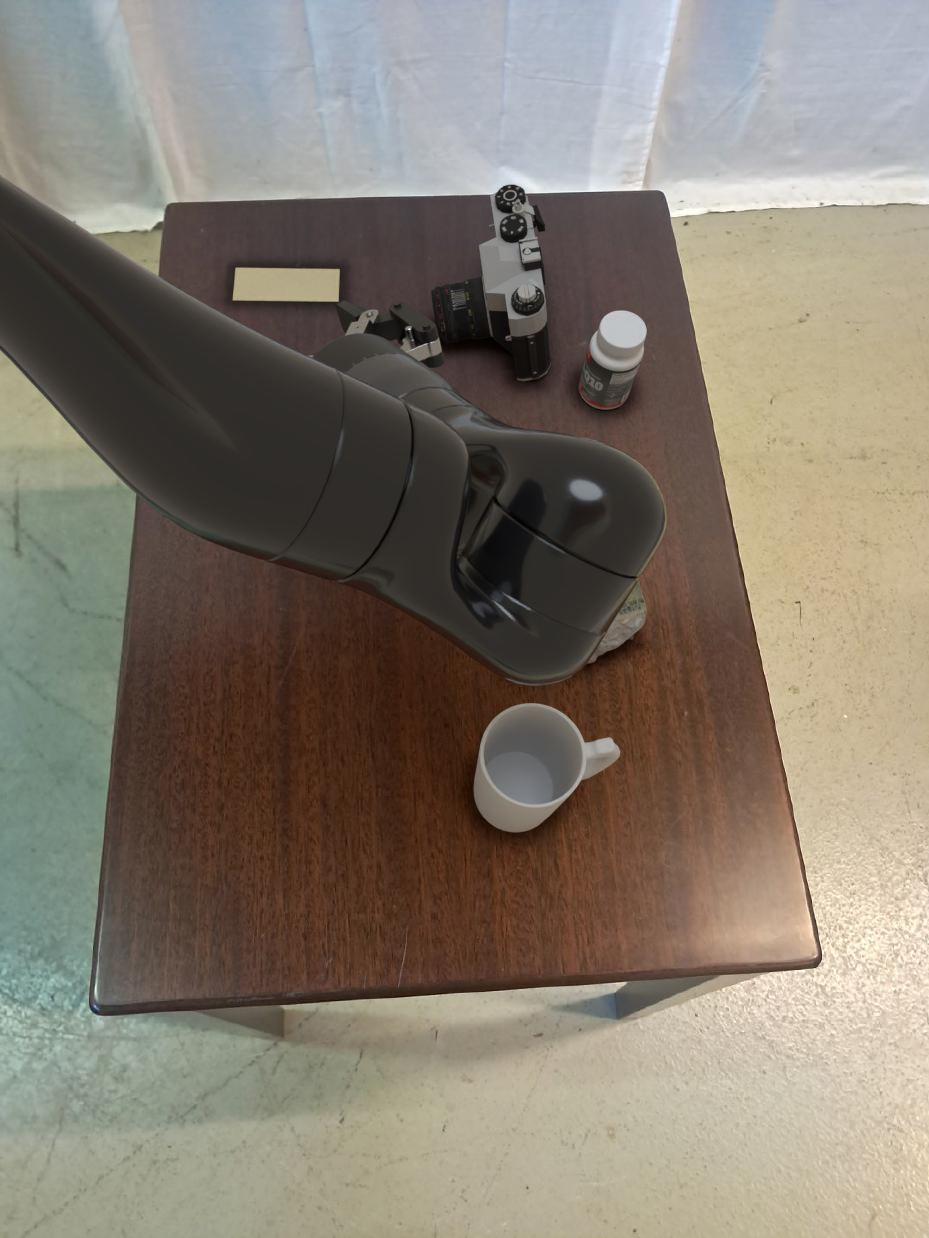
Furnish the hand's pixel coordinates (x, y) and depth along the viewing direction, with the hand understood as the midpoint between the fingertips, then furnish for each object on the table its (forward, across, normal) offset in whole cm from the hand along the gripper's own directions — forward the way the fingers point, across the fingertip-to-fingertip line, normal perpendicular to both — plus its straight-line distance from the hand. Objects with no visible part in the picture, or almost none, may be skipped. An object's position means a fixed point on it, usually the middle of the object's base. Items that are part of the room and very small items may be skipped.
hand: (287, 339), depth 60 cm
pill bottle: (+4, -27, +18) cm, 33 cm away
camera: (+14, -22, +12) cm, 29 cm away
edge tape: (+26, -8, +6) cm, 28 cm away
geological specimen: (-8, -12, +25) cm, 29 cm away
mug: (-20, -2, +31) cm, 37 cm away
